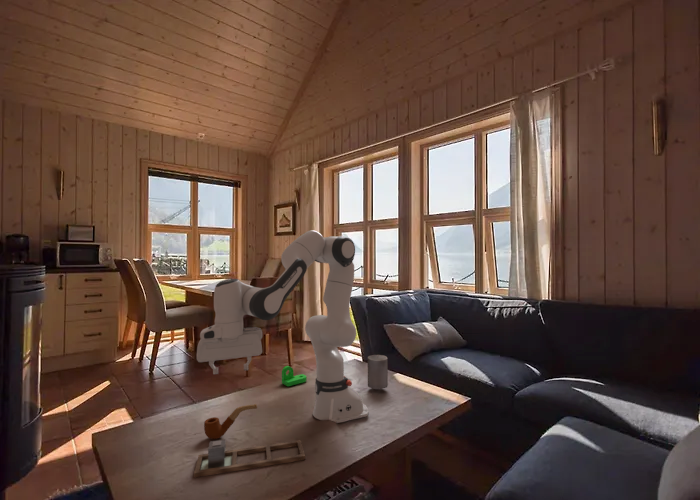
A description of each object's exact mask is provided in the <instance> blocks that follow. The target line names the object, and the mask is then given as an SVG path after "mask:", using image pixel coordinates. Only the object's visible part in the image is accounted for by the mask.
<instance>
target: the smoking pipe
mask: <svg viewBox="0 0 700 500" xmlns="http://www.w3.org/2000/svg"><path fill="white" fill-rule="evenodd" d="M257 409H258V405H257V403H255V404H247V405H242V406H239V407H237V408H235V409H234V410H233V411H232V412H231V413H230V415H228V416H227V418H226V419H225V420H224V421H223V422H222V424H221V422H220V418H219V417H210V418H207V419H206V420H205V421H204V422H203V423H204V425H203V426H204V427H203V429H204V434H205V436H206V437H207V438H209V439H210V440H218V439H220V438H222V437H223V436H224V435H225V434H226V433H227V431H228V430H230V428H231V426H232V425H233V424H234V423H235V421H236V419H237V418H238V416H239V415H240V414H241V413H243V412H244V411H247V410H248V411H249V410H257Z"/></svg>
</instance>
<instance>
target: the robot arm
mask: <svg viewBox="0 0 700 500" xmlns="http://www.w3.org/2000/svg"><path fill="white" fill-rule="evenodd" d="M355 255H356V246H355V243H354V241H353V240H352V239H351V238H350V237H348V236H342V235H339V236H337V235H336V236H334V235H330V236H326V237H324V236H323V234H321V233H320V232H318V231H317V230H313V229H311V230H307V231H306V232H304V233H303V234H301V235H299V236H298V237H297V238H295V239H294V240H293V241H292V242H291V243H290V244H289V245H287V247H285V249H284V250H283V252H282V253H281V256H280V257H281V259H280V260H281V264H282V266H283V268H284V269H285V270H283V272H282V273H281V275H279V277H278V278H277V279H276V280H275V281H274V282H273V284H271V285H270V286H267V287H256V286H253V285H249V284H247V283H244V282H242V281H240V279H238V278H229V279H225V280H221V281H219V282H218V283H216V285H215V287H214V291H213V310H214V312H215V317H214V324H213V325H211V326H209V327H205V328H203V329H202V330H201V331H200V333H199V338H200V340H199V341H198V344H197V347H196V361H197V362H198V363H205V362H208V365H209V366H210V368H211V369H212V374H213V375H219V366H218V367H217V366H215V364H214V363H215V361H222V360H231V359H239V358H246V360H247V361H246V363H243V371H249V365H250V363H251V361H252V360H253V359H252V357H256V356H261V354H262V353H263V347H262V339H263V336H264V335H263V330H262V329H261V328H260V327H257V326H253V327H244V316H246V315H248V316H250V317H251V316H252V317H255V318H258V319H260V320H263V321H269V320H273V319H274V318H275V317H278V315H279V314H280V312H281V310H282V308H283V306H284V303H285V301H286V300H287V298H288V297H289V296H290V294H291V293H292V292H293V290H294V289H295V288H296V287H297V285H298V284H299V283H300V282H301V280H302V279H303V277H304V276H305V275H306V273H307V270H308V268H309V267H310V266H311V265H313V263H314V262H316V263H318V264H319V263H320V264H328V268H329V272H328V273H327V277H326V278H327V279H326V283H325V288H324V292H323V296H322V297H323V298H322V301H323V302H324V303H323V304H324V305H325V307H326V310H327V311H326V312H327V313H326V315H323V314H318V315H313V316H311V317H309V318H308V319H307V321H306V323H305V328H304V329H305V334H306V335H307V337H308V338H309V339H310V342H311V345H312V348H313V352H314V355H315V363H316V364H315V365H316V366H315V367H316V378H315V381H314V382H315V383H314V388H315V389H314V390H315V400H314V401H315V403H314V407H313V411H312V416H313V417H314V418H315V419H317V420H320V421H327V420H329V421H332V422H335V423H336V424H338V423H344V422H347V421H352V420H356V419H360V418H364V417H368V416H369V408H368V407H367V405H366V404H364V403H363V398H362V396H361V395H360V394H359V392H358V391H356V390H355V389H354V388H352V387H351V386H352V384H353V383H352V381H351V379H348V377H346V376H345V373H344V371H345V370H344V366H345V364H344V358H343V355H342V354H341V353H340V351H339V348H342V347H343V348H346V347H350V346H351V345H353V343H354V342H355V340H356V337H357V330H356V326H355V325H354V323H353V321H352V318H351V317H352V316H351V313H350V304H351V303H350V302H351V296H352V290H353V285H354V280H355V264H354V258H355Z"/></svg>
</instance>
